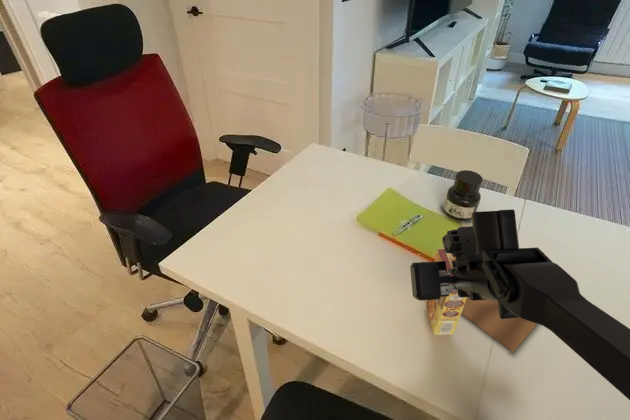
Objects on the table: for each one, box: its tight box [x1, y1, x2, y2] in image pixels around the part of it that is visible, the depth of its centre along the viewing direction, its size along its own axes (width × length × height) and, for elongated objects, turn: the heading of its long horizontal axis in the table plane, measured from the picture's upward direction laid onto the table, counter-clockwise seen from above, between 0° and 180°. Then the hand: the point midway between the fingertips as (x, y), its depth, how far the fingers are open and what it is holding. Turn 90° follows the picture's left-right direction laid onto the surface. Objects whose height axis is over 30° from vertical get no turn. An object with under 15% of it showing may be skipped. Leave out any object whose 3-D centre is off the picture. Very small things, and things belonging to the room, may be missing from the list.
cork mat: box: [461, 297, 537, 353], centre depth 80 cm, size 16×10×1 cm, turn 40°
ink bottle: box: [442, 169, 484, 222], centre depth 103 cm, size 10×9×12 cm
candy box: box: [424, 248, 467, 335], centre depth 72 cm, size 9×4×15 cm, turn 0°
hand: (447, 275), depth 71 cm, fingers closed on candy box, 4 cm apart
